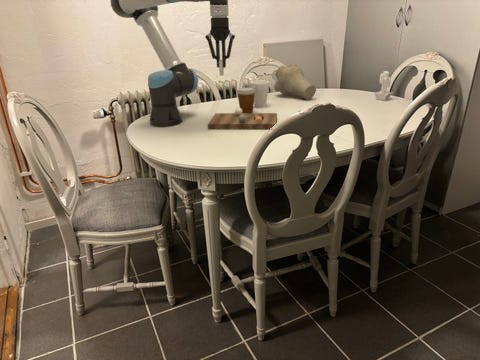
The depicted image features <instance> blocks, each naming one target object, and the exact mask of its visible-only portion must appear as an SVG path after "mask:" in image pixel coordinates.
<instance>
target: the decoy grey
mask: <svg viewBox="0 0 480 360" xmlns="http://www.w3.org/2000/svg"><path fill="white" fill-rule="evenodd" d="M238 120H239V121H240V122H244V121H245V120H246V117H245V115H243V114H241V115H239V117H238Z"/></svg>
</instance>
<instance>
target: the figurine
mask: <svg viewBox="0 0 480 360" xmlns="http://www.w3.org/2000/svg"><path fill="white" fill-rule="evenodd" d="M389 75H390V71H386V70H385V71H383V72H382V73H380V75H379V84H380V85H381V88H380V90H379V91H377V92H374V93H373V94H374V97H375V98H376V100H378V101H387V100H389V99H390V97H391V96H392V95H393V93H394V92H393V91H388V90H387V89H388V88H390V87H391V81H392V80H391V77H390V76H389Z"/></svg>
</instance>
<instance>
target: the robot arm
mask: <svg viewBox="0 0 480 360" xmlns="http://www.w3.org/2000/svg"><path fill="white" fill-rule="evenodd" d="M180 2H181V3H182V2H192V3H199V2H209V10H210V11H209V12H210V13H209V14H210V31H209V33H208V34H206V35H205V36H204V38H205V39H206V41H207V43H208V47H209V51H210V54H211V58H212V59H213V60H216V68H219V69H218V70H219V76H222V77H223V76H224V75H225V71H224V69H225V68H226V66H227V59H229V58H230V57H231V54H232V53H231V52H232V47H233V42H234V40H235V38H236V35H235V34H233V33H232V32H231V30H230V24H229V23H230V20H229V19H230V18H229V0H110V7H111V9H112V11H113V12H114V13H115V14H116V15H117V16H119V17H121V18H126V19H127V18H128V19H130V18H131V19H132V18H133V20H134V22H135V23H136V25H137V26H140V27H141V28H142V30H143V31H144V33H145V35H146V36H147V39H148V40H149V43H150V45H151V46H152V47H153V50H154V51H155V53H156V55H157V57H158V59H159V60H160V62H161V65H162V66H163V68H164V70H159V71H154V72H152V73H150V74H149V75H148V76H147V87H148V90H149V91H148V92H149V98H150V105H151V109H150V110H151V111H150V115H149V116H150V117H149V123H150V126H152V127H157V128H158V127H162V128H163V127H172V126H176V125H179V124H181V123H182V122H183V118H182V114H181V112H180V110H179V108H178V105H177V98H178V97H179V98H180V97H183V96H189V95H190V94H192V93H194V92H195V91H197V88H198V84H199V77H198V75H197V72H196V71H195V70H194V69H192V68H189V67H188V66H187V64H186V63H185V62H183V61H181V59H180V57H179V56H178V54H177V52H176V50H175V49H174V46H173V44H172V43H171V41H170V39H169V38H168V35H167V33H166V32H165V30H164V28H163V26H162V25H161V22H160V21H159V19H158V16H159V12H158V11H159V7H158V6H162V5H163V6H164V5H168V4H175V3H180ZM228 38H229V41H228V47H227V50H226V40H227V39H228ZM212 39H214V42H215V48H214V44H213V41H212ZM220 42H221V45H220ZM220 49H221V51H220ZM226 51H227V52H226Z"/></svg>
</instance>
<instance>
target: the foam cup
mask: <svg viewBox="0 0 480 360" xmlns="http://www.w3.org/2000/svg"><path fill="white" fill-rule="evenodd" d="M269 86H270V82H269V81H268V80H263V79H262V80H261V79H260V80H252V81H250V87H251V88H254V89H255V91H256V92H255V94H254V105H253V108H257V109H258V108H259V109H260V108H261V109H263V108H266V107H267V101H268V93H269V92H268V91H269Z"/></svg>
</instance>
